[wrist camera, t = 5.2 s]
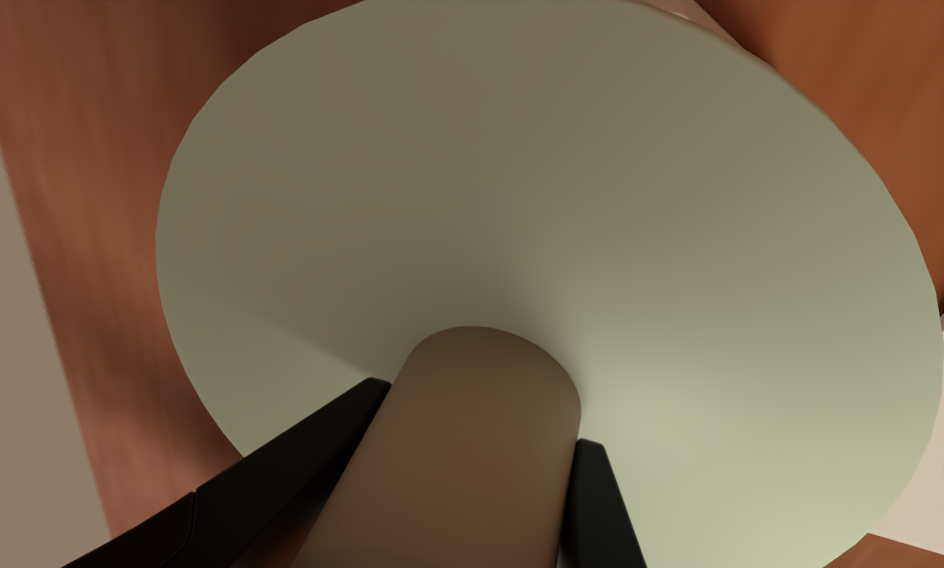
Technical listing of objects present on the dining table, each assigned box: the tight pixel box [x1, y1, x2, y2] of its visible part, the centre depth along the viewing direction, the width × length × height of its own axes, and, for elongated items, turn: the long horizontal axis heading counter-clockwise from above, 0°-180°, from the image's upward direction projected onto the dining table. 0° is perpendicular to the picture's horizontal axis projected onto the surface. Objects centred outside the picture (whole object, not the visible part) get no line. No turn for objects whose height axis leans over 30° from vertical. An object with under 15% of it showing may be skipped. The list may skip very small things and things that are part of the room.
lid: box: [155, 0, 944, 568], centre depth 9 cm, size 13×13×5 cm
